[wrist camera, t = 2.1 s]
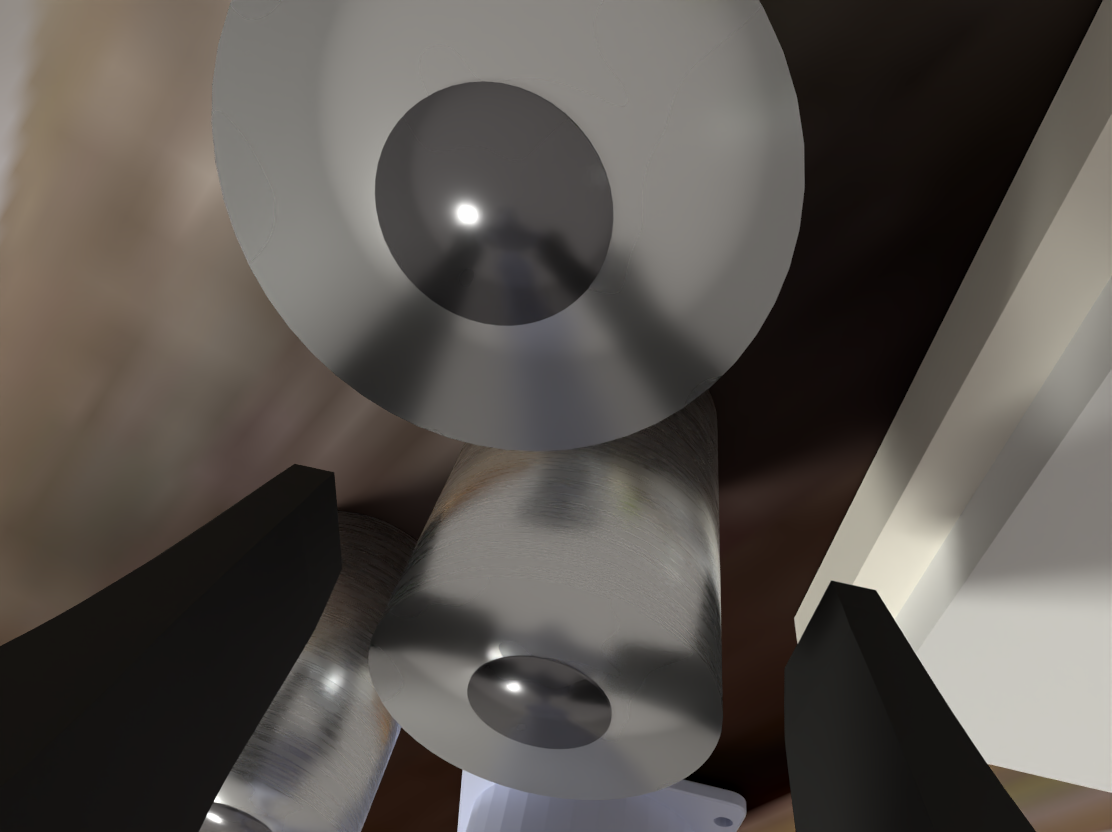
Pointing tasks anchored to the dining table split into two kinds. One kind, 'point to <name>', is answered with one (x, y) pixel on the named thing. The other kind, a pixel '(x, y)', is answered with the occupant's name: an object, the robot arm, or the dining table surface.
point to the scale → (1012, 464)
